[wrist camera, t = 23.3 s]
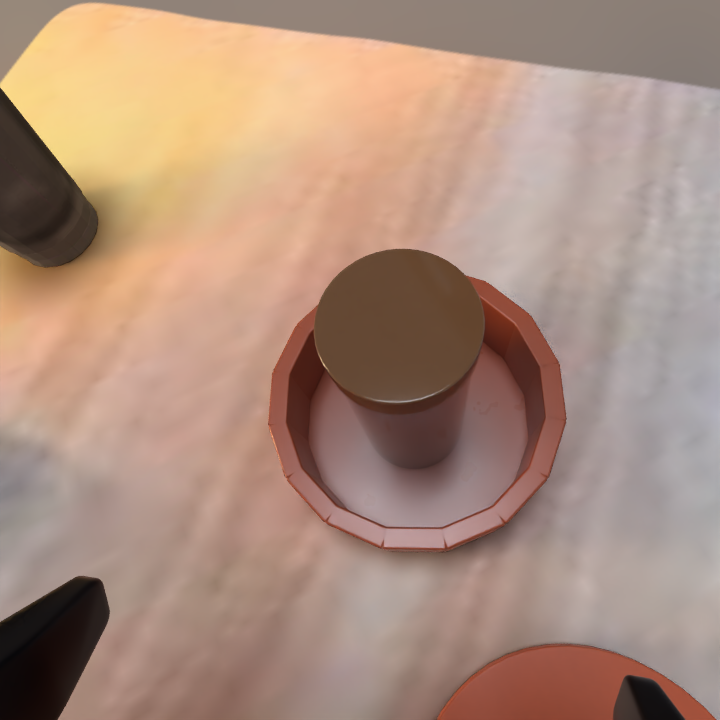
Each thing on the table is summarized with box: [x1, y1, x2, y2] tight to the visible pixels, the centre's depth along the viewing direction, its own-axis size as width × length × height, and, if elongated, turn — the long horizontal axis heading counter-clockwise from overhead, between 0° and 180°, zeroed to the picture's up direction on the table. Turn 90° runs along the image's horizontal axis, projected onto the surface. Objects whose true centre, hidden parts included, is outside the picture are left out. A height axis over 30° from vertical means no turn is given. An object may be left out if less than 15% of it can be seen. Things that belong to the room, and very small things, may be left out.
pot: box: [268, 275, 566, 552], centre depth 21 cm, size 10×10×4 cm
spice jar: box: [314, 249, 485, 469], centre depth 17 cm, size 4×4×10 cm
